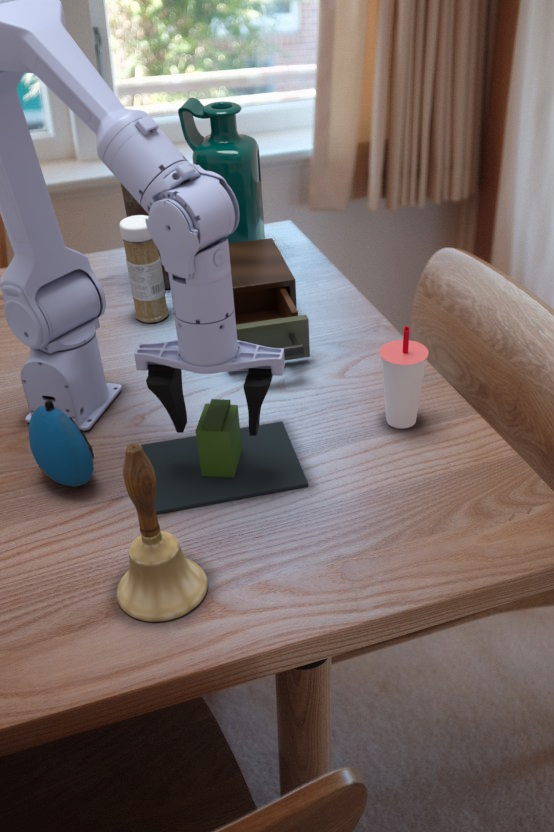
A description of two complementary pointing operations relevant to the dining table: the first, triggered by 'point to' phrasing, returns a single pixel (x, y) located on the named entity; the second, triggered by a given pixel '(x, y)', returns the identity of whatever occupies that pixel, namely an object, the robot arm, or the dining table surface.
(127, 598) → the hand bell
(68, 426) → the ornament
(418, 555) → the dining table surface
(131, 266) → the sprinkles bottle
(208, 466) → the green stepped block
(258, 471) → the mat
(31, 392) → the robot arm
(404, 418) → the cup
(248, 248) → the cabinet
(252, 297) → the drawer
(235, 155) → the pitcher
